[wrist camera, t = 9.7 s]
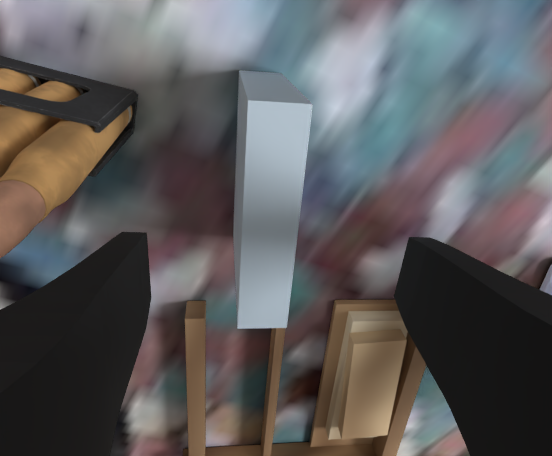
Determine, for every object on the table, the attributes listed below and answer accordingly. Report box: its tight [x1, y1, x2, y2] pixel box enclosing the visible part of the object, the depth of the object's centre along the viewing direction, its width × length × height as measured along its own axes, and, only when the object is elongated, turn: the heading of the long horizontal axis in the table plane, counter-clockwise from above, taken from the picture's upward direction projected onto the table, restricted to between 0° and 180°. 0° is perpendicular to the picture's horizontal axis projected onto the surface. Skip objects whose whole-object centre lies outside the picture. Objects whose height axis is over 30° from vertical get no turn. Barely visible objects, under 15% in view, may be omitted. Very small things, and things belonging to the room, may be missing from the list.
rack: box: [183, 300, 426, 456], centre depth 25 cm, size 14×14×2 cm
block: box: [233, 70, 313, 329], centre depth 16 cm, size 2×8×7 cm, turn 176°
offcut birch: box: [325, 311, 408, 440], centre depth 26 cm, size 3×10×1 cm, turn 176°
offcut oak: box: [338, 329, 407, 440], centre depth 25 cm, size 3×8×1 cm, turn 0°
